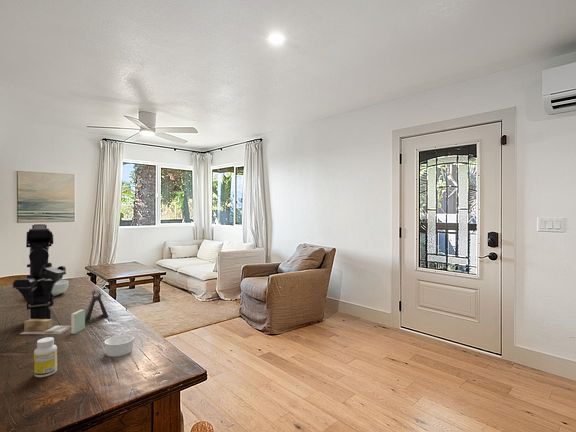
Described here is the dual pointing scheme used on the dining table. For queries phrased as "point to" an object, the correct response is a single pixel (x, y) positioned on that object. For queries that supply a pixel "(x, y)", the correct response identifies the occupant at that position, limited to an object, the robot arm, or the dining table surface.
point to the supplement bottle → (45, 357)
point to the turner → (43, 326)
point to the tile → (77, 321)
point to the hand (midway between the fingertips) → (39, 301)
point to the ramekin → (119, 345)
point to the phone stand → (91, 305)
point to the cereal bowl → (60, 287)
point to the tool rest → (38, 333)
